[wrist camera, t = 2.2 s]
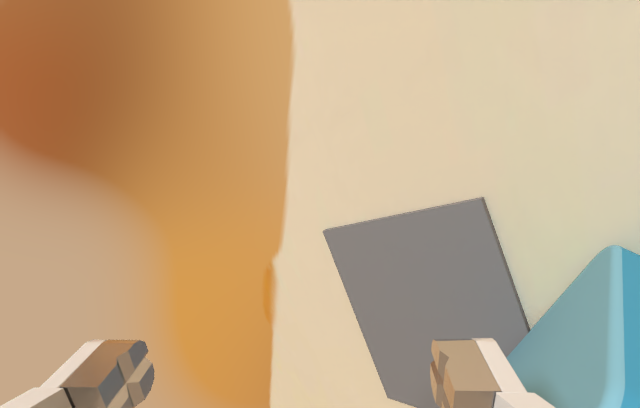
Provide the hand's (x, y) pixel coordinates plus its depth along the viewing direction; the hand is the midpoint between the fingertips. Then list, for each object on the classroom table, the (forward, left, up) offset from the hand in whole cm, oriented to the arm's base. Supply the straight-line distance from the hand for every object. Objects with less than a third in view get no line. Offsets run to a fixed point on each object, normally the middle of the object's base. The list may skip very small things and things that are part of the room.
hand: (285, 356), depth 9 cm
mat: (+7, +9, -16) cm, 20 cm away
